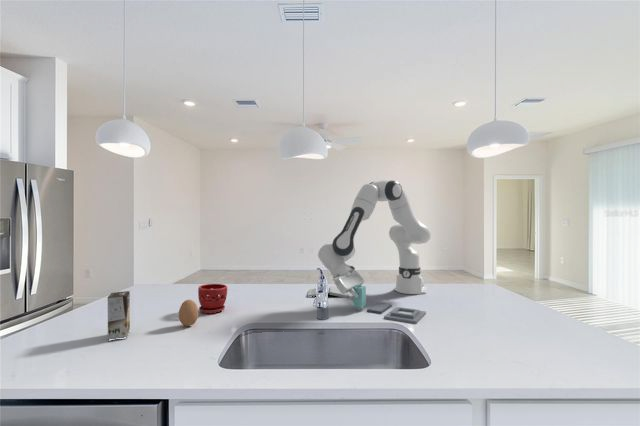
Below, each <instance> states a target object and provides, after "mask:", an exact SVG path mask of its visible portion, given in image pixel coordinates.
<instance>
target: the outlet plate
mask: <svg viewBox="0 0 640 426" xmlns="http://www.w3.org/2000/svg"><path fill="white" fill-rule="evenodd" d="M426 314H427V311H423V310H420V309H415V308H407V307H400V306H398V307H394V308H393V309H392V310H391V311H389V312H388V313H386V314H385V315H384V316H383V320H390V321H395V322H396V321H397V322H403V323H409V324H415V325H417V324H418V323H419V322H420V321H421V320H422V319H423V318H424V317H425V316H426Z"/></svg>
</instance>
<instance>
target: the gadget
mask: <svg viewBox="0 0 640 426" xmlns="http://www.w3.org/2000/svg"><path fill="white" fill-rule="evenodd" d="M316 288H317V287H316ZM316 288H315V287H314V288H311V289H309V290H308V293H307V297H308V296H313V297H312V298H314V297H315V296H316V293H317V292H316ZM328 288H329V294H328V295H330V296H335V297H340V298H346V299H347V298H350V292H347V293H345V294H343V293H341V292H340V291H339V289H338V288H337V286H336V287H335V286H331V285H330V286H329V287H328ZM316 297H317V296H316Z"/></svg>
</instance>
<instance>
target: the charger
mask: <svg viewBox="0 0 640 426" xmlns="http://www.w3.org/2000/svg"><path fill="white" fill-rule="evenodd" d="M366 288H367V287H366V285H360V286H359V285H357V286H355V287H353V289H354V291H355V292H358V294H359V295H360V296H359V297H357V298H356V297H355V296H354V295H352V296H353V297H352V298H353V299H352V300H353V303H352V306H353V307H357V308H364V307H365V306H367V296H366V295H367V294H366V293H367V292H366V290H367V289H366Z"/></svg>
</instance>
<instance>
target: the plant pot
mask: <svg viewBox="0 0 640 426" xmlns="http://www.w3.org/2000/svg"><path fill="white" fill-rule="evenodd" d="M197 293H198V296H197V297H198V302H199V305H200V306H199V307H198V311H199V312H201V313H202V312H203V314H207V313H213V314H217V313H216V312H218V313H221V312H223V311H224V310H225V307H226V306H225V303H226V300H227V296H228V286H227V285H226V284H222V283H207V284H202V285H199V286H198V291H197ZM222 310H223V311H222ZM220 311H221V312H220Z"/></svg>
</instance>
